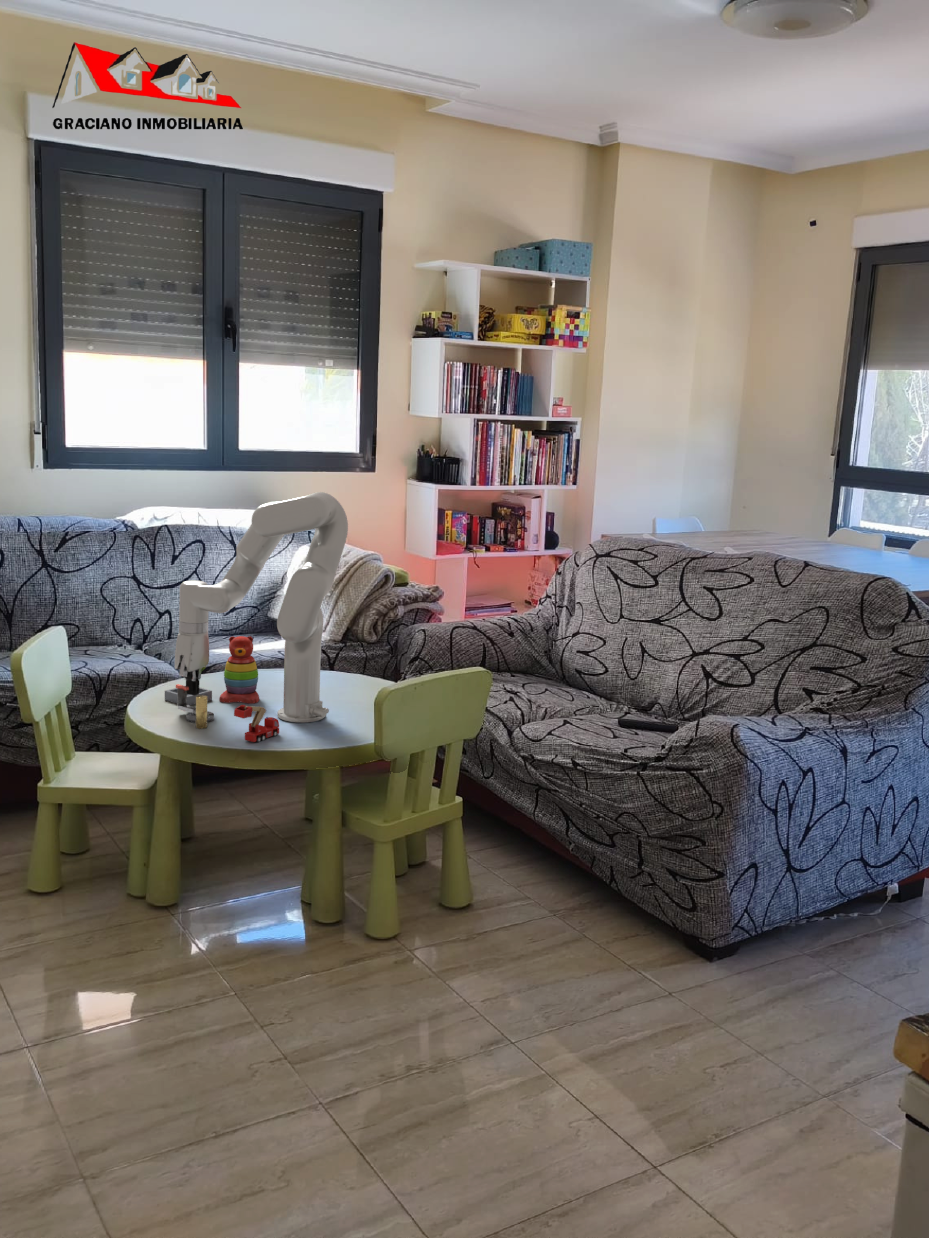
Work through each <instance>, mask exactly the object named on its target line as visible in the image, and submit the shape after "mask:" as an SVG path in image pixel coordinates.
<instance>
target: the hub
mask: <svg viewBox="0 0 929 1238" xmlns="http://www.w3.org/2000/svg"><path fill="white" fill-rule="evenodd" d="M214 720H215V713H214V712H211V711H210V710H209V711H208V710H207V723H210V722H212V721H214ZM186 721H187V722H189V723H193V724H194V723H195V724H196V715H193V713H190V712H186Z"/></svg>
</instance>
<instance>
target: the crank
mask: <svg viewBox="0 0 929 1238" xmlns="http://www.w3.org/2000/svg"><path fill="white" fill-rule="evenodd" d="M175 688H178V689H177V703H176V704H177V710H180V711H183V712H186V713H189V712H190V713H193V715H196V706H193V705H187V690H189V687H187V686H186V685H184V684H183V685H182V684H175Z"/></svg>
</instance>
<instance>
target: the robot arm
mask: <svg viewBox="0 0 929 1238" xmlns="http://www.w3.org/2000/svg"><path fill="white" fill-rule="evenodd" d="M348 522H349V521H348V517H347V514H346V511H345V509H344V507H343V505H342V504H341V503H340V502H339V500H337V498H335V497H334V496H333V495H331V494H329V493H328V492H325V491H324V492H323V491H317V492H313V493H310V494H307V495H305V496H300V497H295V498H292V499H287V500H282V501H276V500H275V501H269V502H266V503H263V504H261V505H258V507H256V509H255V510H254V511H253V513H252V516H251V524H250V525H249V527H248V529H247V530H246V532H245V533H244V535H243V536H242V537H241V539H240V540H239V542H238V543H237V545H236V550H235V551H236V556H235V558H234V561H233V563H232V565H231V566H230V567H229V569H228V571H227V573H226V574H225V575H224V577H223V578H222V579H221V581H219V582H218V583H215V584H213V585H209V584H208V582H205V581H202V580H186V581H182V583H180V586H179V607H178V608H179V611H178V615H179V616H178V618H179V619H178V634H177V637H176V642H175V651H174V669H175V670H177V671H179V674H178V676H180V677H184V680H185V686H187V687H189V690H187V694H189V695H197V694H199V687H200V680H201V678H202V672H203V671H204V670H206V668H207V666H208V665H209V662H210V640H209V614H210V613H214V614H215V613H216V614H224V613H226V612H228V611H230V610H232V609H233V608H234V607H236V606H237V605H239V604H240V603H241V602H242V601H243V599H244V598H245V597H246V595H247V594H248V592H249V591H250V589H251V588H252V587H253V585H254V583H255V582H256V581H257V579H258V576H259V575H260V573H261V572H262V570H263V568H264V567H265V564H266V563H267V561H268V560H269V558H270V557H271V555H272V554H273V552H274V551H275V549H276V547H277V546H278V545H279V544H280V542H281V541H282V540H283V538H284V536H287V535H292V534H296V533H301V532H305V531H311V530H314V534H313V537H312V540H311V541H310V545H309V548H308V551H307V554H306V556H305V557H306V558H305V560H304V563H303V565H301V567H300V568H298V569H297V570H295V572H294V573H293V574H292V576H291V578H290V580H289V583H288V585H287V589H286V591H285V594H284V598H283V600H282V604H281V606H280V609H279V613H278V615H277V619H276V620H277V621H276V627H277V631H278V634H279V635H280V637H281V638H282V639H283V640H285V641H284V653H283V654H284V655H283V656H284V658H283V661H284V664H283V667H284V668H283V707H281V708H280V709H278V711H276V713H277V718H278V719H280V720H282V721H285V722H290V723H291V722H292V723H313V722H318V721H321V720H323V719H324V718H325V717H327V714H329V712H330V711H329V710H330V709H329V708H328V707H327V708H326V707H323V700H320V699H321V698H320V697H321V696H320V695H321V694H320V693H321V690H320V689H321V659H322V657H321V656H322V639H323V630H324V615H323V610H322V609H321V607H322V605H323V601H324V600H325V599H324V598H325V597H326V596H327V595H328V594H329V593H330V591H331V590H332V588H333V584H334V580H335V577H336V574H337V572H338V568H339V564H340V561H341V559H342V555H343V553H344V548H345V546H346V541H347V537H348V533H349V532H348V531H349V523H348ZM209 612H210V613H209Z"/></svg>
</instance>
